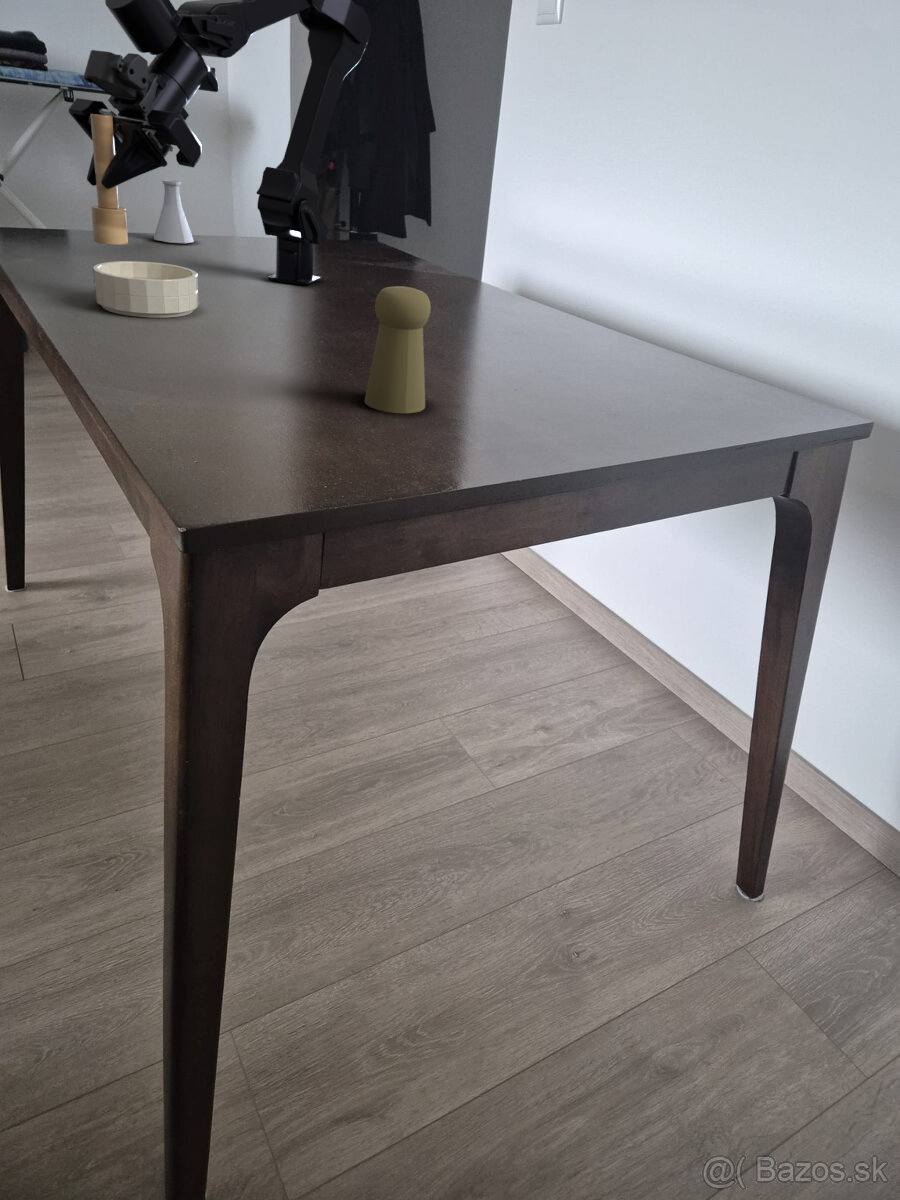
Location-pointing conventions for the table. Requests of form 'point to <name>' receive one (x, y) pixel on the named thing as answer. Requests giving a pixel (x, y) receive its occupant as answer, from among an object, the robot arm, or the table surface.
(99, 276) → the bowl
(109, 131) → the pestle
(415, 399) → the cork
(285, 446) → the table surface
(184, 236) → the flask
